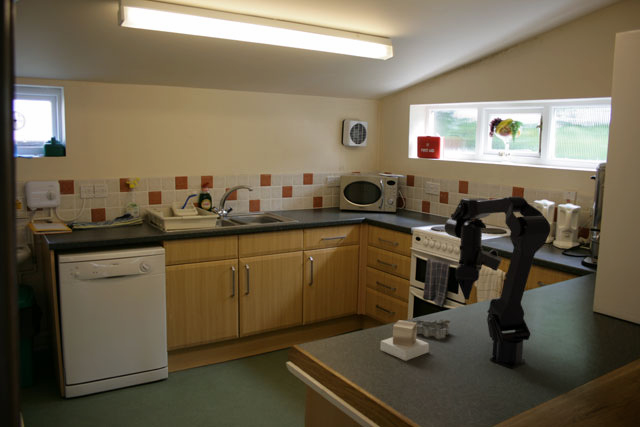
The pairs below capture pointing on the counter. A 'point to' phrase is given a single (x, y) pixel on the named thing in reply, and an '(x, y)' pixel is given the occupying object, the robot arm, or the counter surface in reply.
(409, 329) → the cube
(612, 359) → the counter surface
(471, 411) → the counter surface
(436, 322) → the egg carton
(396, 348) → the base
